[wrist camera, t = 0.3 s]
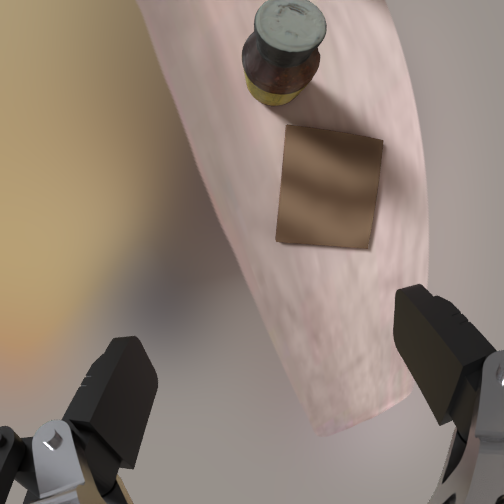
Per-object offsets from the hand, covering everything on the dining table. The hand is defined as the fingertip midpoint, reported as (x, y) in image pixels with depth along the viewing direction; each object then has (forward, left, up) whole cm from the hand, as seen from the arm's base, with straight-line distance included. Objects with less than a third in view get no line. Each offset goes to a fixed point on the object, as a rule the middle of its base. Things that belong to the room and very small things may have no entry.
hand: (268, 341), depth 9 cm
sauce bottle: (-13, +1, -29) cm, 32 cm away
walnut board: (-1, +9, -29) cm, 30 cm away
